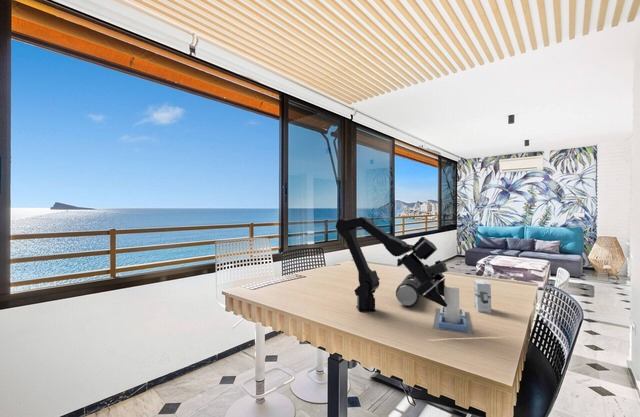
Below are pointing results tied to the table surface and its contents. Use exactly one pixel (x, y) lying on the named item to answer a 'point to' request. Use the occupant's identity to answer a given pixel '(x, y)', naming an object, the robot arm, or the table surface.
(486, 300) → the ink box
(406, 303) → the black silver cylinder
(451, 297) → the white piece
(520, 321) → the table surface
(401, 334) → the table surface
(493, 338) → the table surface
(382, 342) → the table surface
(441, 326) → the duct plate
